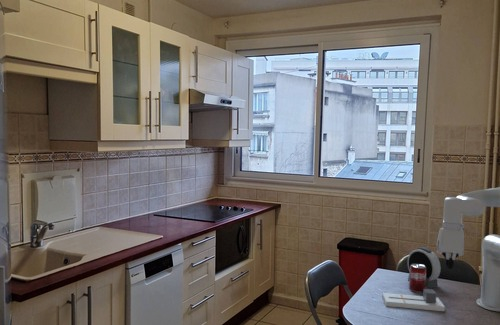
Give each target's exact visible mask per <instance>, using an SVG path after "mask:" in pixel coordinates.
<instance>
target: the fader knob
mask: <svg viewBox="0 0 500 325" xmlns="http://www.w3.org/2000/svg"><path fill="white" fill-rule="evenodd" d="M422 296H423V298H424V300H425V301H426V302H432V303H436V298H437V292H436V291H435V290H434V289H433V288H429V289H428V288H425V289H424V290H423V292H422Z"/></svg>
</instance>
